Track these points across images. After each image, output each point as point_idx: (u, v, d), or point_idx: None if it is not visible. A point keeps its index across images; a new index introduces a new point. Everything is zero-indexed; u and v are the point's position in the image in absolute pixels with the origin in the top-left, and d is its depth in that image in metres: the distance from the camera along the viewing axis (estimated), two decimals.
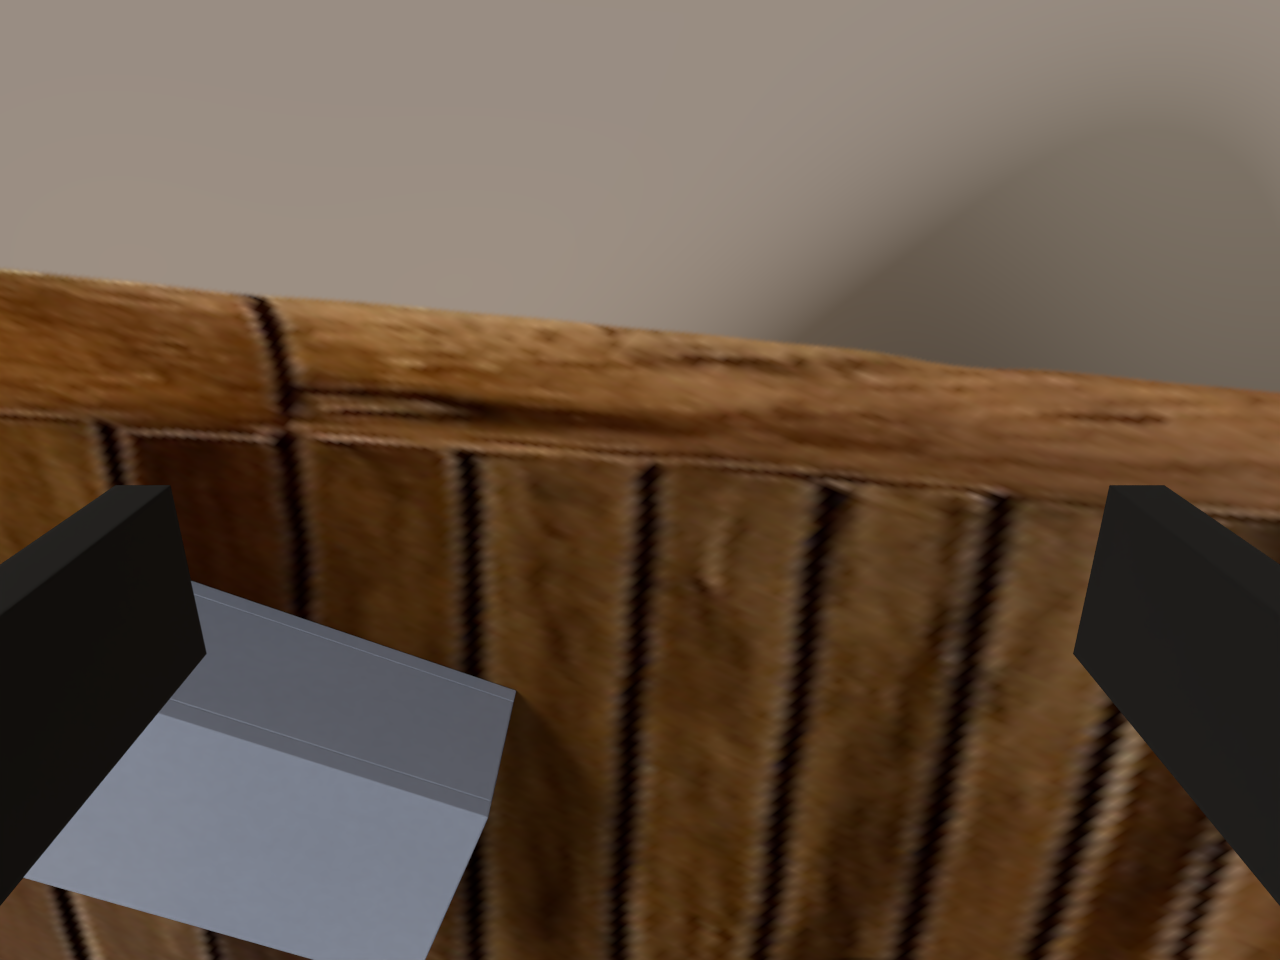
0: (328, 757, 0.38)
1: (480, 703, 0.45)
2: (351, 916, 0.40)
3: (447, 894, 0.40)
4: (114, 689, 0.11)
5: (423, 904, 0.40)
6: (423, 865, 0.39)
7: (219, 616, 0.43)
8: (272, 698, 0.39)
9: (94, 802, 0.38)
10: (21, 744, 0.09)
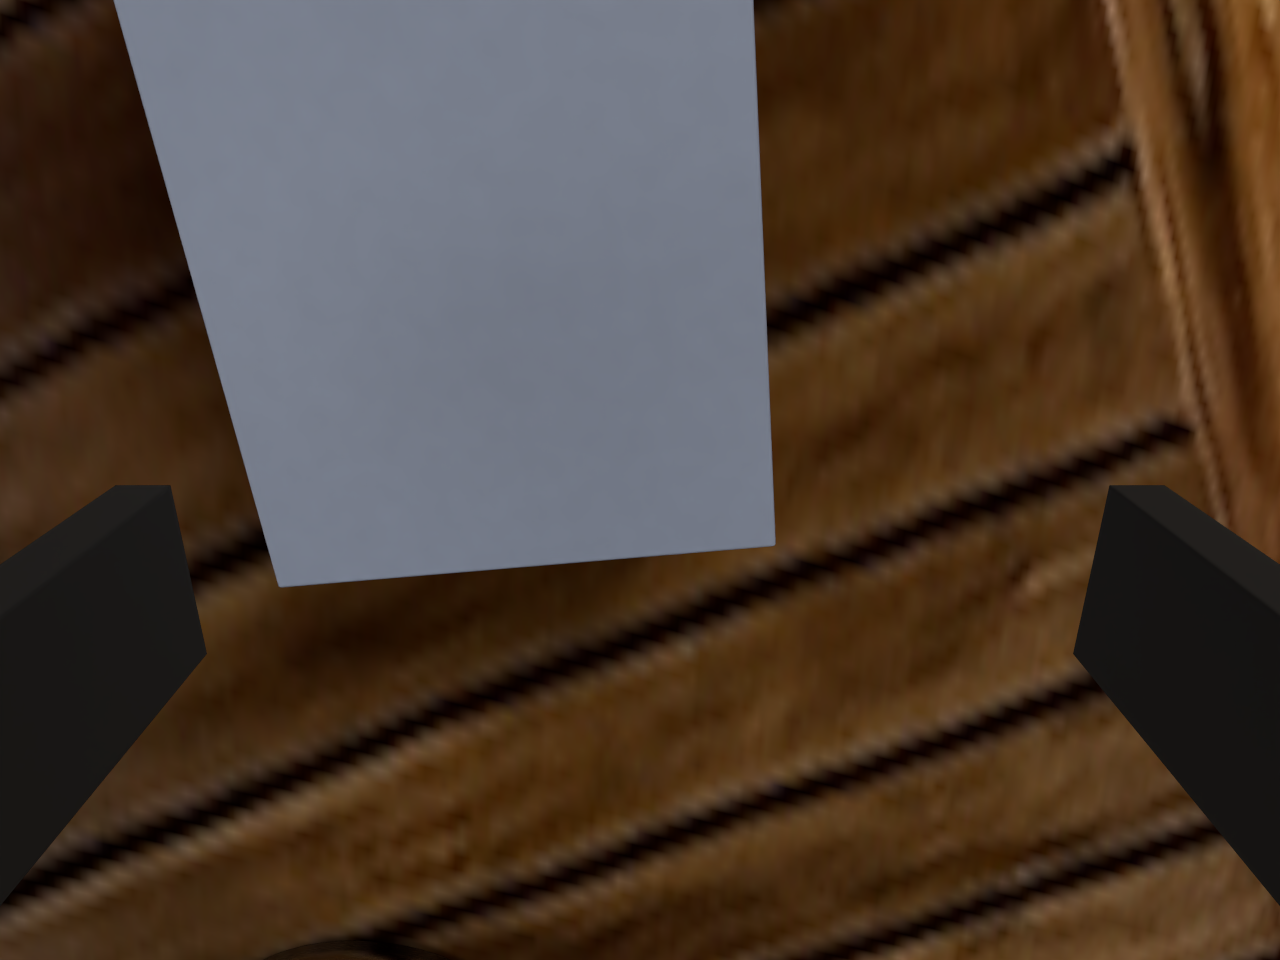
0: None
1: None
2: (389, 409, 0.18)
3: (553, 555, 0.20)
4: (114, 689, 0.11)
5: (504, 524, 0.19)
6: (601, 486, 0.19)
7: None
8: None
9: None
10: (21, 745, 0.09)
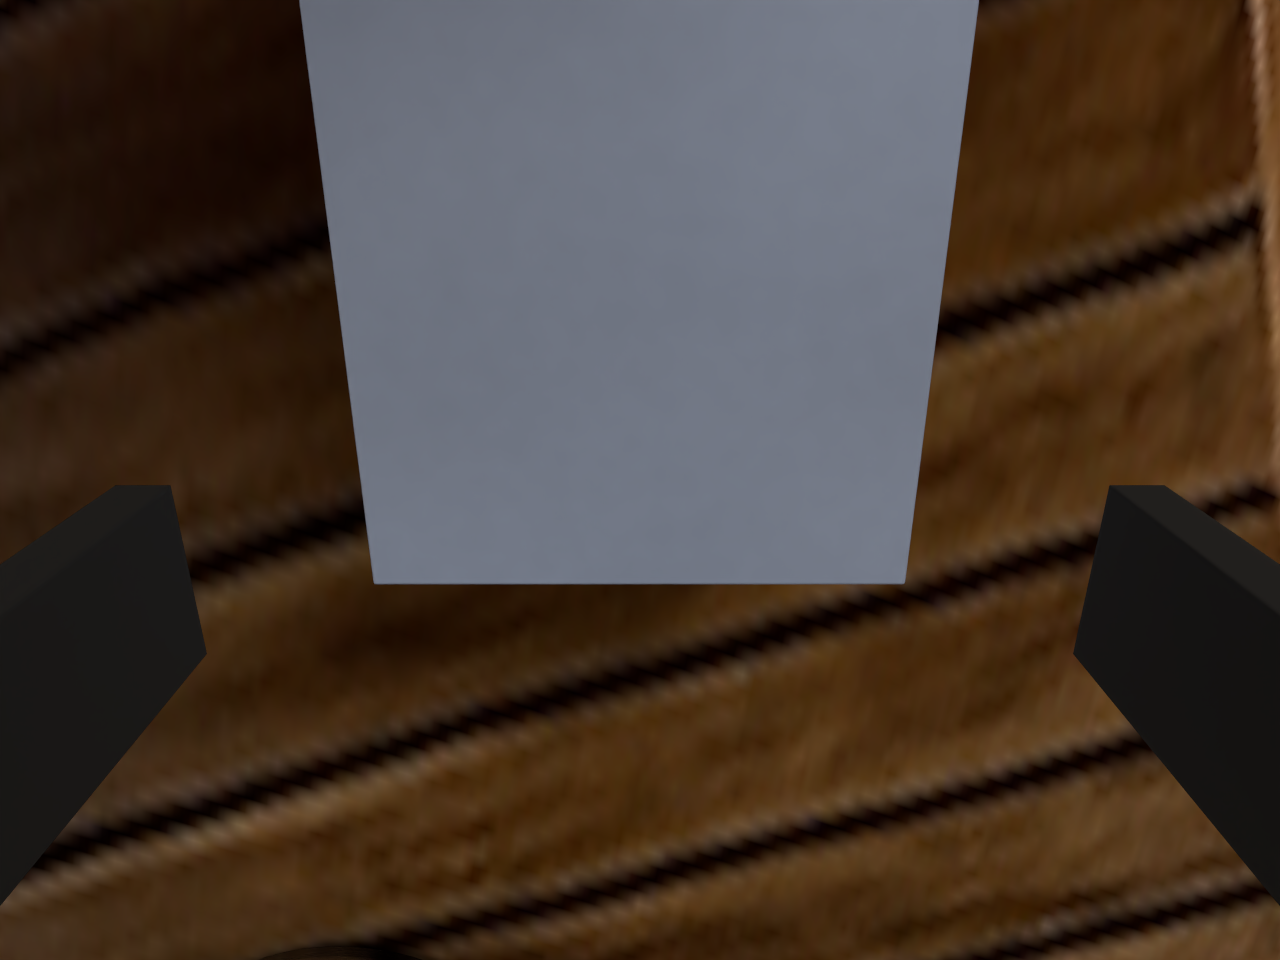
0: None
1: None
2: (523, 406, 0.17)
3: (672, 574, 0.18)
4: (114, 689, 0.11)
5: (625, 538, 0.18)
6: (734, 507, 0.18)
7: None
8: None
9: None
10: (21, 745, 0.09)
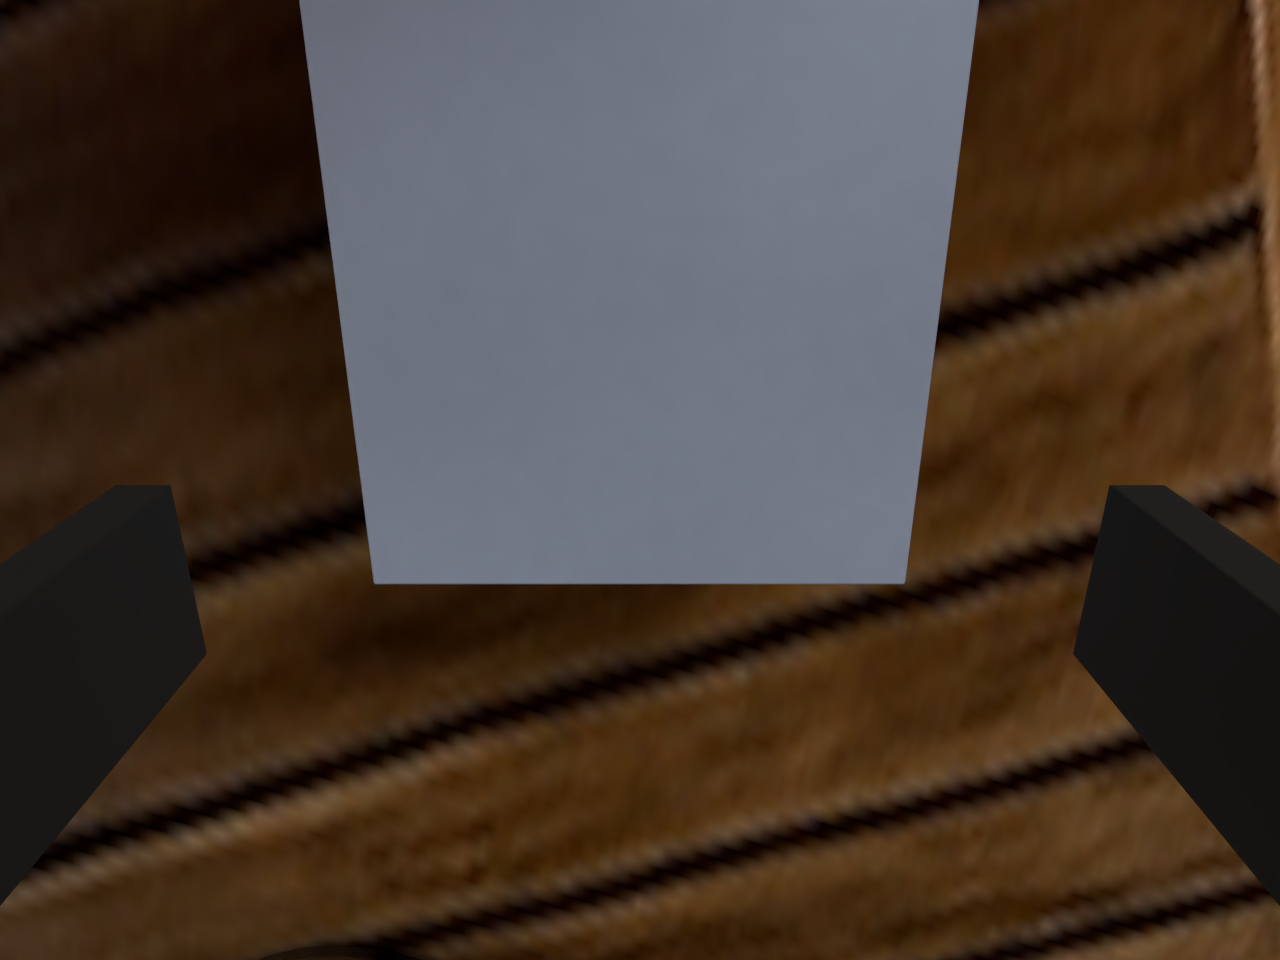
0: None
1: None
2: (523, 406, 0.17)
3: (672, 574, 0.18)
4: (114, 689, 0.11)
5: (625, 538, 0.18)
6: (734, 507, 0.18)
7: None
8: None
9: None
10: (21, 745, 0.09)
